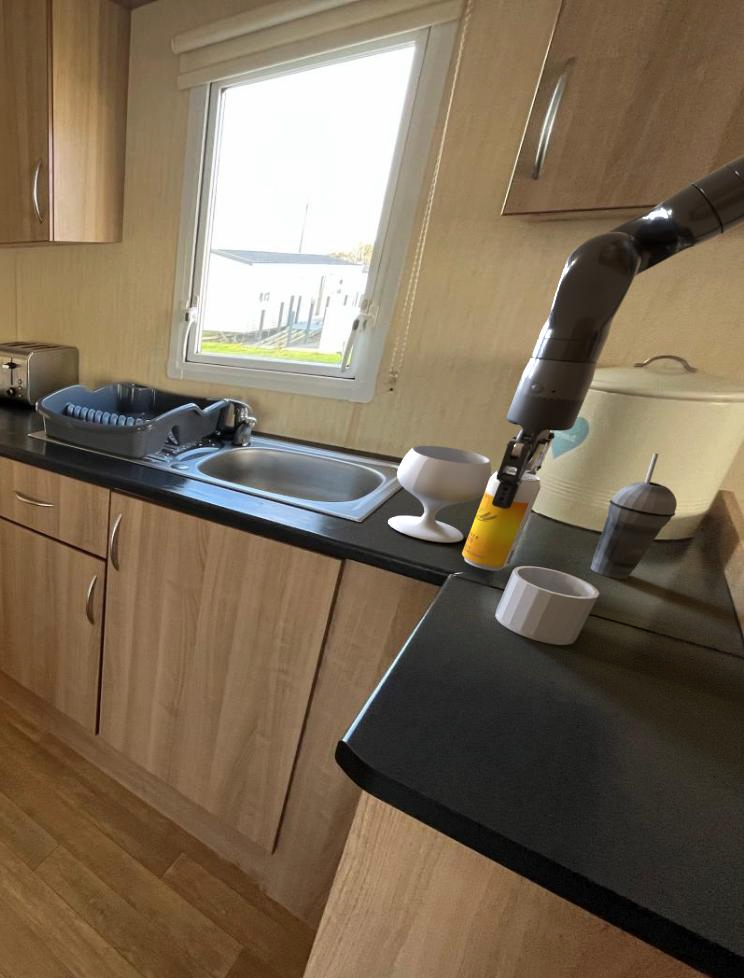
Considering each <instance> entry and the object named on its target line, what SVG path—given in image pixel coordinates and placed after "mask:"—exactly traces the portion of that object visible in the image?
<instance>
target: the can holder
mask: <svg viewBox="0 0 744 978" xmlns="http://www.w3.org/2000/svg"><path fill="white" fill-rule="evenodd" d="M599 596H600V592H599V590H598V588H596V587H595V586H594V585H592V584H591V583H589V582H587V581H585V580H583V579H581V578H579V577H576V576H574V575H572V574H570V573H567V572H562V571H560V570H555V569H551V568H546V567H541V566H533V565H522V566H517V567H514V569H513V570H512V572H511V574H510V576H509V579H508V581H507V584H506V586H505V588H504V591H503V593H502V596H501V598H500V600H499V603H498V605H497V607H496V610H495V614H494V616H495V619H496V620H497V621H498V622H499V623H500V624H501V625H502V626H504V627H505V628H506V629H508V630H510V631H512V633H513V632H514V633H515V634H518V635H520V636H522V637H525V638H528V639H529V640H533V641H536V642H539V643H540V642H541V643H544V644H549V645H555V646H556V645H557V646H568V645H572V644H575V642H576V641H577V640H578V637H579V636H580V634H581V631H582V630H583V628H584V626H585V624H586V621H587V620H588V618H589V617H590V614H591V612H592V610H593V608H594V606H595V605H596V602H597V600H598V598H599Z"/></svg>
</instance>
